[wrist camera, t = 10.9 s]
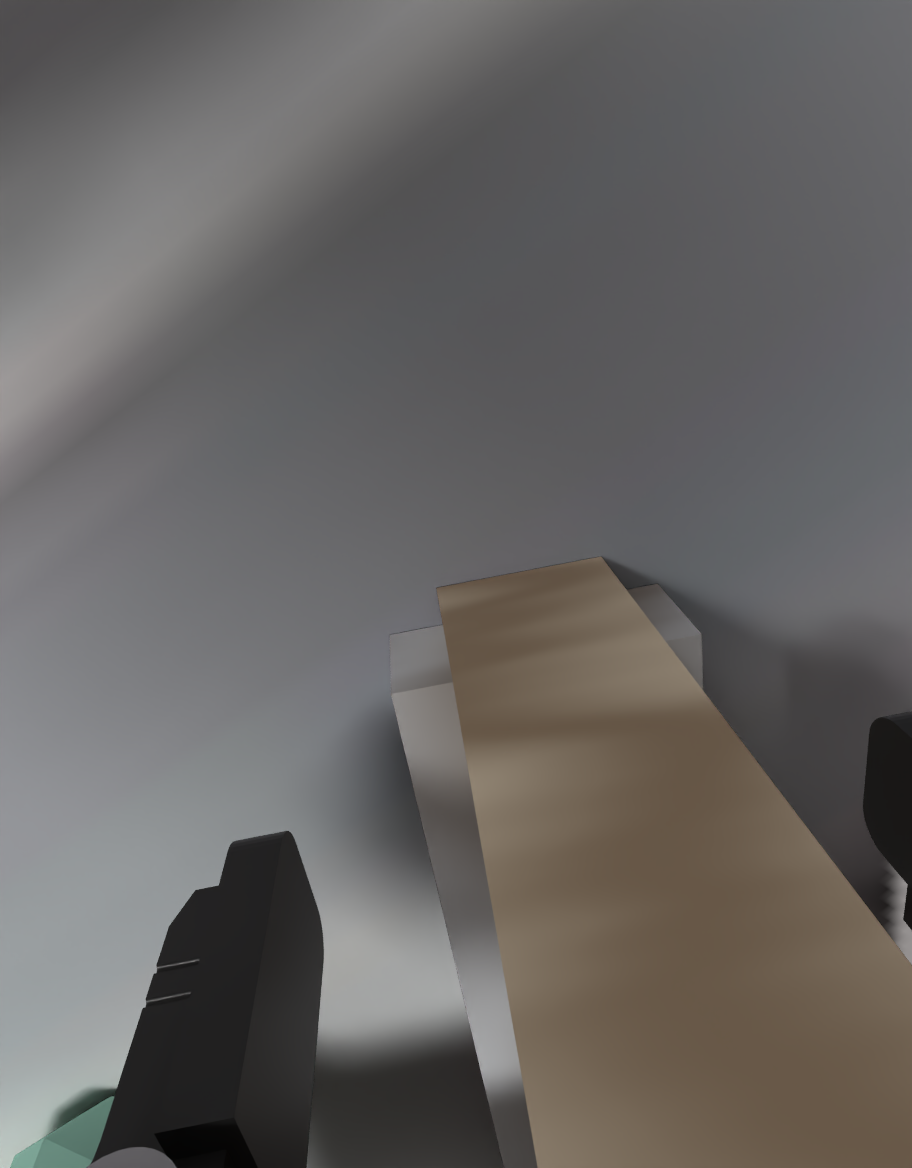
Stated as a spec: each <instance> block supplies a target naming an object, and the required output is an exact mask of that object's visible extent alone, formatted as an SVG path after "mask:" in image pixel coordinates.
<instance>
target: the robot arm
mask: <svg viewBox="0 0 912 1168" xmlns="http://www.w3.org/2000/svg"><path fill="white" fill-rule="evenodd" d="M863 812H864V818H865V822H866V825H867V828H868V831H869V833H870V835H871V838H872V839H873V841H874V843H875V845H876V846H877V848H878V849H879V851H880V852H881V853H882V855H883V856H884V857H885V858H886V859H887V861H888V862H889V863H890V864H891V865H892V866H893V868H894V869H895V870H896V871H897V872H898V873H899V875H900V876H901V877H902V878H903V879H904V881H905V882H906V883H907V884H908V885H909V886H910V888H911V889H912V712H907V713H901V714H896V715H891V716H886V717H881V718H878V719H876V720H875V721H874V722H873V723H872V725H871V728H870V732H869V742H868V754H867V765H866V776H865V787H864V799H863ZM323 959H324V946H323V933H322V925H321V920H320V915H319V911H318V908H317V905H316V902H315V899H314V896H313V893H312V890H311V887H310V884H309V881H308V878H307V875H306V872H305V869H304V866H303V863H302V860H301V857H300V854H299V851H298V848H297V845H296V842H295V839H294V837H293V835H292V834H291V832H289V831H284V832H279V833H274V834H269V835H264V836H258V837H253V838H248V839H243V840H238V841H234V842H232V844H231V845H230V847H229V849H228V853H227V856H226V860H225V864H224V868H223V872H222V875H221V879H220V883H219V886H214V887H209V888H204V889H199V890H195V892H194V893H193V894H192V896H191V897H190V899H189V900H188V901H187V903H186V904H185V905H184V907H183V908H182V909H181V911H180V912H179V914H178V915H177V916H176V918H175V919H174V920H173V922H172V923H171V925H170V926H169V928H168V931H167V935H166V938H165V941H164V944H163V947H162V950H161V953H160V956H159V959H158V963H157V973H156V974H154V975H153V978H152V981H151V984H150V987H149V991H148V994H147V997H146V1008H143V1009H142V1012H141V1015H140V1019H139V1022H138V1025H137V1028H136V1031H135V1034H134V1037H133V1040H132V1043H131V1047H130V1050H129V1053H128V1056H127V1059H126V1062H125V1065H124V1068H123V1071H122V1075H121V1078H120V1081H119V1084H118V1087H117V1090H116V1093H115V1096H114V1100H113V1103H112V1106H111V1109H110V1112H109V1115H108V1118H107V1121H106V1124H105V1128H104V1131H103V1134H102V1137H101V1140H100V1143H99V1145H98V1148H97V1151H96V1153H95V1156H94V1158H93V1160H92V1162H91V1164H90V1165H89V1166H87V1167H86V1168H306V1165H307V1153H308V1141H309V1129H310V1117H311V1105H312V1093H313V1081H314V1069H315V1057H316V1045H317V1033H318V1021H319V1009H320V997H321V985H322V973H323Z"/></svg>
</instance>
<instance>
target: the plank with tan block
mask: <svg viewBox="0 0 912 1168" xmlns="http://www.w3.org/2000/svg"><path fill="white" fill-rule="evenodd" d="M436 589H437V595H438V600H439V606H440V612H441V617H442V623H443V625H439V626H434V627H429V628H424V629H419V630H413V631H408V632H403V633H398V634H392V635H390V674H391V696H392V700H393V705H394V709H395V713H396V717H397V721H398V726H399V730H400V734H401V738H402V742H403V747H404V751H405V755H406V759H407V763H408V768H409V772H410V776H411V780H412V784H413V789H414V793H415V797H416V801H417V805H418V810H419V814H420V818H421V822H422V826H423V831H424V835H425V839H426V843H427V847H428V852H429V856H430V860H431V864H432V868H433V873H434V877H435V881H436V885H437V889H438V894H439V898H440V902H441V906H442V910H443V915H444V919H445V923H446V927H447V931H448V936H449V940H450V944H451V948H452V952H453V957H454V961H455V965H456V969H457V973H458V978H459V982H460V986H461V990H462V994H463V999H464V1003H465V1007H466V1011H467V1015H468V1020H469V1024H470V1028H471V1032H472V1036H473V1041H474V1045H475V1049H476V1053H477V1057H478V1062H479V1066H480V1070H481V1074H482V1078H483V1083H484V1087H485V1091H486V1095H487V1099H488V1104H489V1108H490V1112H491V1116H492V1120H493V1125H494V1129H495V1133H496V1137H497V1141H498V1146H499V1150H500V1154H501V1158H502V1162H503V1167H504V1168H912V965H911V964H910V962H909V961H908V959H907V958H906V957H905V956H904V954H903V953H902V952H901V950H900V949H899V948H898V946H897V945H896V944H895V942H894V941H893V940H892V938H891V937H890V936H889V934H888V933H887V932H886V931H885V929H884V928H883V927H882V925H881V924H880V923H879V921H878V920H877V919H876V917H875V916H874V915H873V913H872V912H871V911H870V909H869V908H868V907H867V906H866V904H865V903H864V902H863V900H862V899H861V898H860V896H859V895H858V894H857V892H856V891H855V890H854V888H853V887H852V886H851V885H850V883H849V882H848V881H847V879H846V878H845V877H844V875H843V874H842V873H841V871H840V870H839V869H838V867H837V866H836V865H835V863H834V862H833V861H832V860H831V858H830V857H829V856H828V854H827V853H826V852H825V850H824V849H823V848H822V846H821V845H820V844H819V842H818V841H817V840H816V838H815V837H814V836H813V835H812V833H811V832H810V831H809V829H808V828H807V827H806V825H805V824H804V823H803V821H802V820H801V819H800V817H799V816H798V815H797V814H796V812H795V811H794V810H793V808H792V807H791V806H790V804H789V803H788V802H787V800H786V799H785V798H784V796H783V795H782V794H781V792H780V791H779V790H778V789H777V787H776V786H775V785H774V783H773V782H772V781H771V779H770V778H769V777H768V775H767V774H766V773H765V771H764V770H763V769H762V767H761V766H760V765H759V764H758V762H757V761H756V760H755V758H754V757H753V756H752V754H751V753H750V752H749V750H748V749H747V748H746V746H745V745H744V744H743V742H742V741H741V740H740V739H739V737H738V736H737V735H736V733H735V732H734V731H733V729H732V728H731V727H730V725H729V724H728V723H727V721H726V720H725V719H724V718H723V716H722V715H721V714H720V712H719V711H718V710H717V708H716V707H715V706H714V704H713V703H712V702H711V700H710V699H709V698H708V696H707V695H706V694H705V693H704V691H703V665H702V634H701V633H700V632H699V630H698V629H697V628H696V627H695V626H694V625H693V624H692V622H691V621H690V620H689V619H688V618H687V617H686V616H685V614H684V613H683V612H682V611H681V610H680V609H679V608H678V606H677V605H676V604H675V603H674V602H673V601H672V600H671V598H670V597H669V596H668V595H667V594H666V593H665V592H664V590H663V589H662V588H661V587H660V586H659V585H658V584H653V585H648V586H643V587H638V588H633V589H627V590H626V589H625V587H624V586H623V585H622V583H621V582H620V581H619V579H618V578H617V577H616V575H615V574H614V573H613V572H612V570H611V569H610V568H609V566H608V565H607V564H606V562H605V561H604V560H603V558H602V557H596V558H591V559H585V560H580V561H575V562H570V563H564V564H559V565H554V566H549V567H543V568H538V569H533V570H528V571H522V572H517V573H512V574H507V575H501V576H496V577H491V578H486V579H480V580H475V581H470V582H465V583H459V584H454V585H449V586H444V587H438V588H436Z"/></svg>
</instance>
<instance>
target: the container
mask: <svg viewBox="0 0 912 1168" xmlns="http://www.w3.org/2000/svg"><path fill="white" fill-rule="evenodd" d="M113 1100H114V1096H111V1097H109V1098H107V1099H105V1100H104V1101H102V1102H100V1103H99V1104H97V1105H95V1106H94V1107H92V1108H90V1109H89V1110H87V1111H85V1112H84V1113H82V1114H81V1115H79V1116H77V1117H76V1118H74V1119H73V1120H71V1121H69V1122H68V1123H66V1124H65V1125H63V1126H61V1127H60V1128H58V1129H57V1130H55V1131H53V1132H52V1133H50V1134H49V1135H47V1136H45V1137H44V1138H42V1139H41V1140H39V1141H37V1142H36V1143H34V1144H33V1145H31V1146H29V1147H28V1148H26V1149H25V1150H23V1151H21V1152H20V1153H18V1154H17V1155H15V1157H14V1159H13V1162H12V1164H11V1167H10V1168H86V1167H87V1166H89V1165H90V1164H91V1162H92V1160H93V1158H94V1156H95V1153H96V1151H97V1148H98V1145H99V1143H100V1140H101V1137H102V1134H103V1131H104V1128H105V1124H106V1121H107V1118H108V1115H109V1112H110V1109H111V1106H112V1103H113Z"/></svg>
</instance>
